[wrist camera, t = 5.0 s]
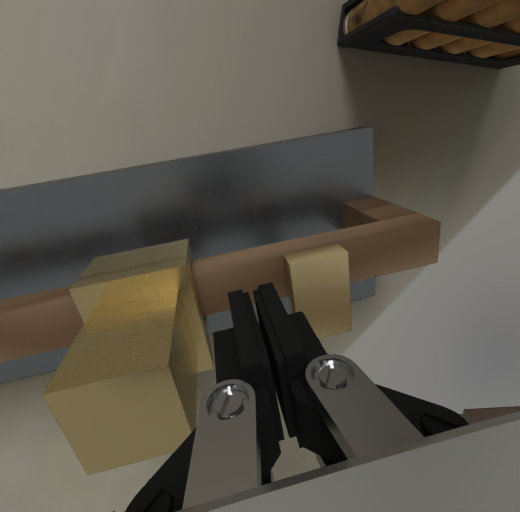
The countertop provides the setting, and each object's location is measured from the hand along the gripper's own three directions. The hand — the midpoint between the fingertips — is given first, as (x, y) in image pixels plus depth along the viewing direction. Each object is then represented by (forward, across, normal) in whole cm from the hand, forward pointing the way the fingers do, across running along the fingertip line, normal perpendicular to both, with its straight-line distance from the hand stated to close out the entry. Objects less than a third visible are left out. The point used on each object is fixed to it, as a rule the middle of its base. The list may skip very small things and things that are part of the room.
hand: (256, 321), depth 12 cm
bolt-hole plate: (+9, +6, 0) cm, 11 cm away
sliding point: (+8, +4, 0) cm, 9 cm away
